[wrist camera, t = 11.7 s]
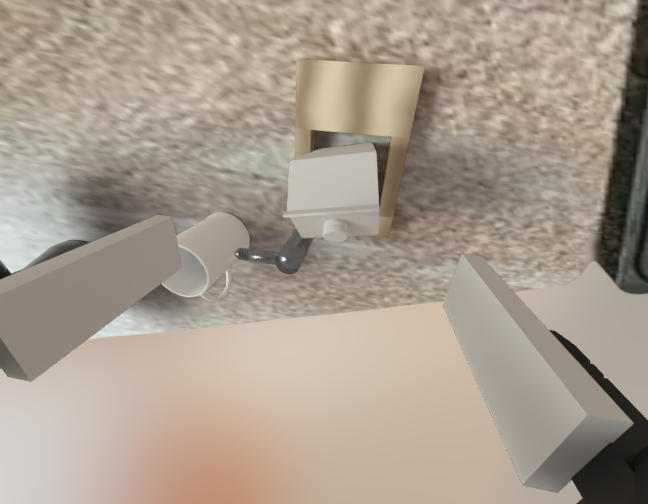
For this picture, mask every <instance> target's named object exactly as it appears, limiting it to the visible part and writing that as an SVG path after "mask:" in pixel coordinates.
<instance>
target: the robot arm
mask: <svg viewBox="0 0 648 504" xmlns="http://www.w3.org/2000/svg"><path fill="white" fill-rule="evenodd" d="M181 268H183V265H182V260H181V256H180V251H179V246H178V241H177V237H176V232H175V227H174V223H173V218H172V217H170V216H162V215H156V216H153V217H151V218H149V219H146V220H144V221H141V222H139V223H136V224H134V225H132V226H129V227H127V228H124V229H122V230H119V231H117V232H115V233H112V234H110V235H107V236H105V237H102V238H100V239H98V240H95V241H93V242H90V243H86V242H82V241H78V240H68V241H65V242H62V243H60V244H57V245H54V246H52V247H50V248H49V249H48V250H46V251H45V252H44V253H43V254H41V255H40V256H39V257H37V258H36V259H35V260H34V261H32V262H31V263H30V264H29V265H27V266H26V267H25V268H23V269H22V270H19V271H17V272H14V273H12V274H11V273H10V272H9V270H8V269H7V268H6V266H5V265H4V264H3V263H2V261H1V260H0V369H1V368H2V369H3V371H4V372H5V373H6V375H7V376H8V377H11V378H16V379H21V380H25V381H30V382H32V381H33V380H34V379H36V378H37V377H38V376H39V375H41V374H42V373H44V372H45V371H46V370H47V369H49V368H50V367H52V366H53V365H54V364H55V363H57V362H58V361H60V360H61V359H62V358H63V357H65V356H66V355H67V354H69V353H70V352H71V351H73V350H74V349H75V348H77V347H78V346H79V345H81V344H82V343H83V342H85V341H86V340H87V339H89V338H90V337H91V336H93V335H94V334H95V333H97V332H98V331H99V330H101V329H102V328H103V327H104V326H106V325H107V324H108V323H110V322H111V321H112V320H114V319H115V318H116V317H118V316H119V315H120V314H122V313H123V312H124V311H126V310H127V309H128V308H130V307H131V306H132V305H134V304H135V303H136V302H138V301H139V300H140V299H142V298H143V297H144V296H145V295H147V294H148V293H149V292H151V291H152V290H153V289H155V288H156V287H157V286H159V285H160V284H161V283H163V282H164V281H165V280H167V279H168V278H169V277H171V276H172V275H173V274H175V273H176V272H177V271H179V270H180V269H181ZM443 307H444V309H445V311H446V314H447V316H448V318H449V321H450V323H451V325H452V327H453V329H454V332H455V334H456V336H457V339H458V341H459V343H460V345H461V348H462V350H463V352H464V355H465V357H466V359H467V361H468V364H469V366H470V368H471V370H472V373H473V375H474V377H475V380H476V382H477V384H478V386H479V389H480V391H481V393H482V395H483V397H484V400H485V402H486V404H487V407H488V409H489V411H490V414H491V416H492V418H493V421H494V423H495V425H496V427H497V430H498V432H499V434H500V436H501V439H502V441H503V443H504V445H505V448H506V450H507V452H508V455H509V457H510V459H511V461H512V464H513V466H514V468H515V470H516V473H517V475H518V477H519V480H520V482H521V484H522V485H523V486H528V487H533V488H538V489H542V490H547V491H551V492H557V493H558V492H559V491H560V490H561V489H562V488H563V487H564V486H566V485H567V484H568V483H569V482H570V481H571V480H572V481H573V482H574V484H575V485H576V487H577V489H578V491H579V492H580V494H581V496H582V498H583V499H582V500H580V501H579V502H578V503H577V504H648V420H647V419H646V418H645V417H644V416H643V415H642V414H641V413H640V412H639V411H638V410H637V409H636V408H635V407H634V406H633V405H632V404H631V403H630V401H629V400H628V399H627V398H626V397H624V395H623V394H622V393H621V392H620V391H619V390H618V389H617V388H616V387H615V386H614V385H613V384H612V383H611V382H610V381H609V380H608V379H607V378H604V377H603V376H604V375H603V374H602V373H601V372H600V371H599V370H598V369H597V367H596V366H594V364H590V360H589V359H588V358H587V357H586V356H585V355H584V354H583V353H582V352H581V351H580V350H579V349H578V348H577V347H576V346H575V345H574V344H572V343H571V342H570V341H568V340H567V339H565V338H564V337H563V336H561V335H560V334H558V333H557V332H555V331H552V330H548V329H547V328H546V326H545V325H544V324H543V323H542V322H541V321H540V320H539V319H538V318H537V317H536V316H535V314H533V312H532V311H531V310H530V309H529V308H528V307H527V306H526V305H525V304H524V302H523V301H522V300H521V299H520V298H519V297H518V296H517V295H516V294H515V293H514V291H513V290H512V289H511V288H510V287H509V286H508V285H507V284H506V283H505V282H504V281H503V279H502V278H501V277H500V276H499V275H498V274H497V273H496V272H495V271H494V270H493V268H492V267H491V266H490V265H489V264H488V263H487V262H486V261H485V260H484V259H483V258H482V256H477V255H469V254H462V255H461V258H460V260H459V263H458V266H457V269H456V271H455V274H454V277H453V280H452V282H451V285H450V288H449V290H448V293H447V296H446V299H445V301H444V304H443Z"/></svg>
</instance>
